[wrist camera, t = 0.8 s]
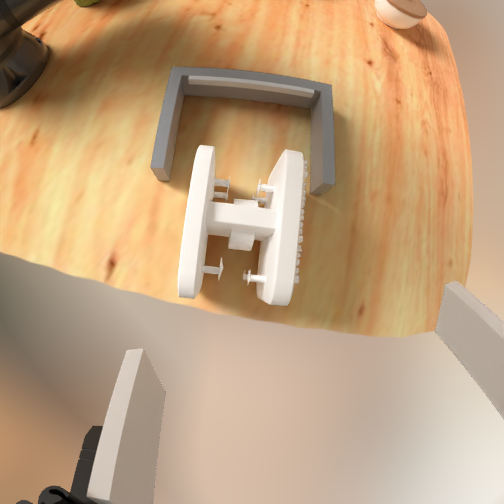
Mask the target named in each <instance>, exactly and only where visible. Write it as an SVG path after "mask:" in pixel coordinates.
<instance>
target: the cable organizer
mask: <svg viewBox="0 0 504 504" xmlns="http://www.w3.org/2000/svg"><path fill="white" fill-rule="evenodd" d="M307 163H308V161H307V160H304V157H303V154H302V152H298V151H293V150H287V149H285V150H284V151H283V153H282V155H281V157H280V158H279V160H278V162H277V164H276V165H275V167H274V169H273V171H272V172H271V174H270V176H269V179H268V183H267V185H265V184H260V182H259V183H258V186H257V194H258V193H259V191H265V192H266V196H265V198H261V197H254V194H253V196H252V198H251V200H245V199H234V201H233V204H229V203H221V202H213V197H214V198H223V199H226V201H227V198H228V189H229V186H230V176H229V180H224V179H216V178H215V147H214V146H206V145H200V146H199V147H198V149H197V152H196V156H195V160H194V166H193V171H192V177H191V183H190V189H189V196H188V202H187V209H186V216H185V223H184V230H183V238H182V245H181V253H180V262H179V271H178V295H179V297H184V298H192V299H194V298H195V297H196V296H197V295H198V293H199V292H200V290H201V286H202V281H203V274H204V273H211V274H219V275H218V278H220V276H221V273H222V270H223V263H222V258H221V261H220V266H219V267H213V266H205V257H206V248H207V240H208V234H209V235H217V236H225V237H229V243H228V248H229V249H237V250H246V251H251V249H252V246H253V243H254V240H258V241H261V244H260V253H259V262H258V272H257V275H252V274H250V272H249V271H248V274H245V271H244V272H243V283H244V280H248V284H249V281H251V282H257V283H256V291H257V297H258V298H260V299H261V300H263V301H265V302H266V303H268V304H269V305H279V306H287V305H288V304H289V302H290V300H291V297H292V293H293V289H294V283H298V284H299V276H296V275H297V274H298V273H299V268H296V266H299V264H300V260H299V259H297V257H298V258H300V256H301V255H300V254H301V253H298V252H301V251H302V250H301V245H298V243H301V242H303V236H299V235H301V234H302V231H303V229H302V227H303V222H300V221H301V220H302V221H303V220H304V218H305V217H304V216H303V214H304V209H302V208H304V206H305V202H303V201H305V199H306V198H305V193H306V190H303V189H304V188H305V187H306V183H304V182H303V181H304V180H305V179H306V178H307V177H308V172H306V171H307ZM260 180H261V179H260ZM215 185H216V186H224V187H228V189H227V193H222V192H214V187H215ZM258 203H261V204H265V206H264V208H260V207H258ZM245 270H246V269H245ZM250 271H251V270H250ZM218 281H219V280H218Z"/></svg>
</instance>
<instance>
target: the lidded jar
mask: <svg viewBox="0 0 504 504" xmlns="http://www.w3.org/2000/svg"><path fill="white" fill-rule="evenodd" d="M375 9H376V12H377V15H378V17H379V19H380V20H381V21H382V22H383V23H385V24H386V25H388V26H390V27H392V28H394V29H408V28H411V27H414V26H415V25H417V24H418V23H419V22H420V21H421V20H422V19H423V18H424V17H425V16H426V15H427V10H426V8H425V6H424V5H423V4H422V2H421V1H420V0H375Z"/></svg>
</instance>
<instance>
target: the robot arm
mask: <svg viewBox="0 0 504 504" xmlns="http://www.w3.org/2000/svg"><path fill="white" fill-rule="evenodd" d="M61 1H63V0H0V108H2V107H5V106H7V105H9V104H11V103H13V102H14V101H16V100H17V99H18V98H20V97H21V96H22V95H23V94H24V93H25V92H26V91H27V90H28V89H29V88H30V87H31V86H32V85H33V84H34V83H35V81H36V80H37V79H38V77H39V76H40V74H41V73H42V71H43V69H44V67H45V65H46V63H47V60H48V54H49V53H48V48H47V47H46V45H45V44H44V42H43V41H42V40H41V39H39V38H37V37H35V36H34V35H32V34H30V33H28V32H27V31H25V30H23V29H22V27H21V26H22V25H23V24H25V23H26V22H27V21H29V20H31V19H32V18H34V17H35V16H37V15H38V14H40V13H42V12H43V11H45V10H47V9H49V8H50V7H52V6H54V5H56V4H57V3H59V2H61ZM435 333H436V334H437V335H438V336H439V337H440V338H441V339H442V341H443V342H444V343H445V344H446V345H447V346H448V348H449V349H450V350H451V351H452V352H453V354H454V355H455V356H456V357H457V359H458V360H459V361H460V362H461V364H462V365H463V366H464V367H465V368H466V370H467V371H468V372H469V373H470V375H471V376H472V377H473V379H474V380H475V381H476V382H477V384H478V385H479V386H480V387H481V389H482V390H483V391H484V393H485V394H486V396H487V397H488V398H489V399H490V401H491V402H492V404H493V405H494V406H495V408H496V409H497V410H498V412H499V413H500V415H501V416H502V417H503V419H504V322H503V321H502V320H501V319H500V318H498V316H497V315H496V314H495V313H493V312H492V311H491V310H490V309H489V308H488V307H487V306H485V304H483V303H482V302H481V301H480V300H479V299H478V298H476V297H475V296H474V295H473V294H472V293H471V292H469V291H468V290H467V289H466V288H465V287H463V286H462V285H461V284H460V283H459V282H457V281H454V282H451V283H448V284H445V286H444V291H443V297H442V302H441V307H440V312H439V316H438V321H437V325H436V329H435ZM165 395H166V391H165V390H164V388H163V386H162V384H161V382H160V380H159V378H158V376H157V375H156V373H155V371H154V369H153V367H152V365H151V363H150V361H149V359H148V357H147V355H146V353H145V351H144V349H133V350H127V351H126V354H125V357H124V360H123V363H122V366H121V369H120V372H119V375H118V378H117V382H116V385H115V388H114V391H113V394H112V398H111V401H110V404H109V408H108V411H107V415H106V418H105V422H104V425H103V426H92V428H91V429H90V430H89V432H88V433H87V434H86V436H85V439H84V442H83V445H82V450H81V453H80V457H79V458H80V459H79V460H78V463H77V467H76V471H75V475H74V479H73V483H72V487H71V491H70V493H69V492H68V491H66V490H65V489H63V488H61V487H59V486H50V487H47V488H46V489H44V490H43V491H42V492H41V494H40V496H39V500H38V504H153V499H154V487H155V476H156V466H157V457H158V448H159V439H160V431H161V423H162V416H163V409H164V401H165ZM16 504H32V503H31V502H29V501H26V500H21V501H19V502H17V503H16Z"/></svg>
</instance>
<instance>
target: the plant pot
mask: <svg viewBox="0 0 504 504" xmlns="http://www.w3.org/2000/svg"><path fill="white" fill-rule="evenodd" d="M74 1H75V2H76V3H77V5H78V6H89V5H91V4H92V3H95V2H98V1H100V0H74Z"/></svg>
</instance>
